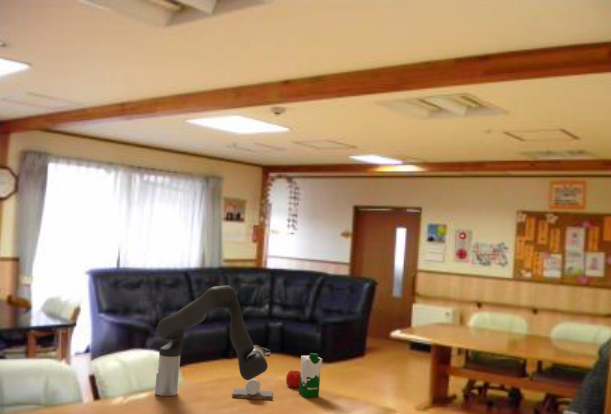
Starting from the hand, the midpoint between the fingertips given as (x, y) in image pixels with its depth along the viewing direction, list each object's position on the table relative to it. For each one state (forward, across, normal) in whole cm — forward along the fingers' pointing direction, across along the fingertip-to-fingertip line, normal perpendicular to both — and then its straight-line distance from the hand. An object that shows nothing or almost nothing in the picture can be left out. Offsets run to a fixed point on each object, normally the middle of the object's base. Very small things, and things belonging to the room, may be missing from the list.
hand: (256, 347), depth 260 cm
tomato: (+36, -20, +26) cm, 49 cm away
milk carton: (+22, -26, +26) cm, 43 cm away
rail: (+12, 0, +25) cm, 28 cm away
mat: (+19, 0, +26) cm, 32 cm away
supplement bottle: (+9, 0, +20) cm, 22 cm away
